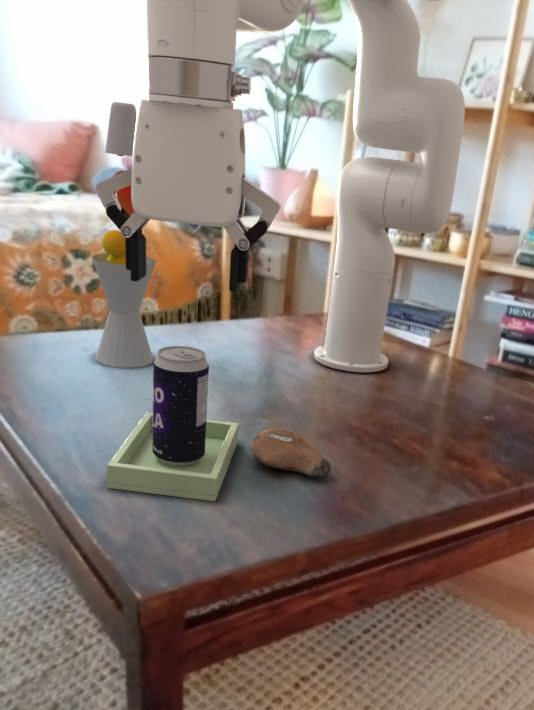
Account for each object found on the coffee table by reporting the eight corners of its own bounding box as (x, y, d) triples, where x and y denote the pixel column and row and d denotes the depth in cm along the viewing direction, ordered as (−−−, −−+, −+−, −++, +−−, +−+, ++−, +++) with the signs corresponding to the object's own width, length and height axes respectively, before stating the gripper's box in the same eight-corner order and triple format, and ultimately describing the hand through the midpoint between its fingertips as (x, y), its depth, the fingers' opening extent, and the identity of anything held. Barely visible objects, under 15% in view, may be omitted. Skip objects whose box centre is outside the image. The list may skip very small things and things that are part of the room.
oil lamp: (265, 493, 75) (333, 488, 78) (270, 462, 73) (340, 458, 76) (242, 449, 82) (305, 446, 85) (246, 419, 80) (311, 416, 83)
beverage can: (178, 443, 81) (181, 341, 76) (215, 459, 78) (220, 354, 73) (141, 457, 77) (141, 350, 71) (179, 474, 74) (182, 365, 69)
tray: (146, 432, 84) (146, 411, 83) (237, 443, 84) (238, 423, 83) (107, 488, 71) (107, 465, 70) (215, 501, 71) (216, 478, 70)
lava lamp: (132, 347, 114) (132, 104, 99) (166, 362, 109) (171, 108, 93) (82, 354, 108) (74, 97, 92) (115, 371, 103) (112, 101, 87)
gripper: (292, 98, 65) (277, 285, 72) (107, 78, 65) (112, 267, 73) (285, 95, 58) (269, 302, 66) (78, 74, 58) (87, 282, 66)
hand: (186, 284), depth 69 cm, fingers open, 9 cm apart
